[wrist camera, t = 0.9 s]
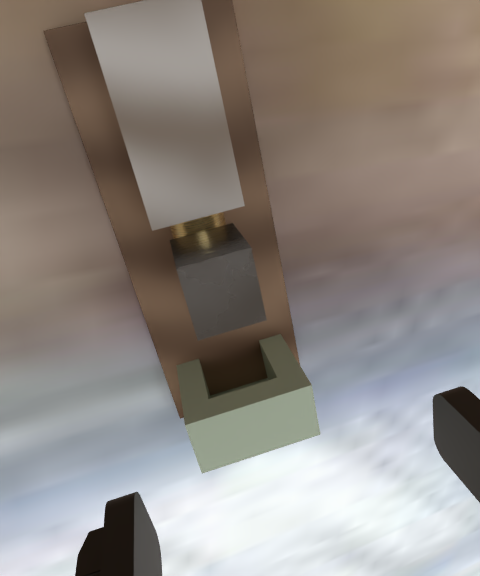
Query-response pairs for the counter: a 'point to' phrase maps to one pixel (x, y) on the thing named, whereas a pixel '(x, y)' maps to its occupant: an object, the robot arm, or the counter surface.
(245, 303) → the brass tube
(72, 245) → the counter surface
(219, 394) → the socket block
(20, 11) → the counter surface
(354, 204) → the counter surface
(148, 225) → the stand
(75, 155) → the counter surface
